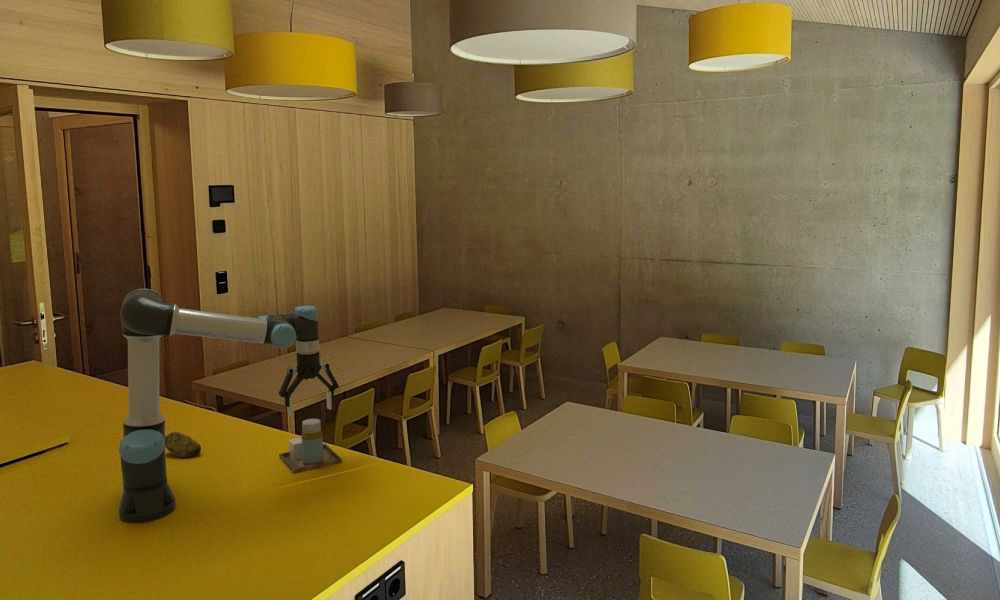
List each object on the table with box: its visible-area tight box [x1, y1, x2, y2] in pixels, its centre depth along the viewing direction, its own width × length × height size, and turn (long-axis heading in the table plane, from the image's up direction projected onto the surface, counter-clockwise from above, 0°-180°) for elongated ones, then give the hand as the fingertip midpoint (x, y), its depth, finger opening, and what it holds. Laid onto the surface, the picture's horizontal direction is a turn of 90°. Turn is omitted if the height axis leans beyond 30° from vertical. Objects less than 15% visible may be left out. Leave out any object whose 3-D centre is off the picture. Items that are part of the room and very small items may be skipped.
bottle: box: [301, 418, 324, 466], centre depth 238 cm, size 7×7×15 cm
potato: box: [165, 431, 202, 458], centre depth 247 cm, size 8×13×8 cm, turn 59°
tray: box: [278, 443, 343, 475], centre depth 242 cm, size 17×16×2 cm
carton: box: [288, 437, 303, 461], centre depth 246 cm, size 10×5×6 cm, turn 124°
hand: (310, 412), depth 236 cm, fingers open, 13 cm apart
